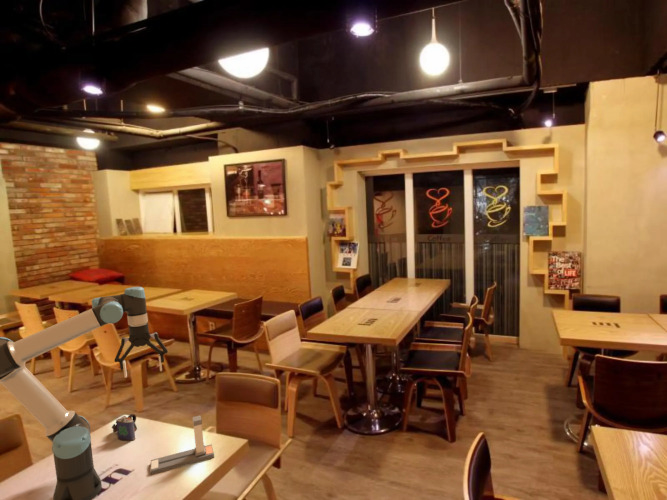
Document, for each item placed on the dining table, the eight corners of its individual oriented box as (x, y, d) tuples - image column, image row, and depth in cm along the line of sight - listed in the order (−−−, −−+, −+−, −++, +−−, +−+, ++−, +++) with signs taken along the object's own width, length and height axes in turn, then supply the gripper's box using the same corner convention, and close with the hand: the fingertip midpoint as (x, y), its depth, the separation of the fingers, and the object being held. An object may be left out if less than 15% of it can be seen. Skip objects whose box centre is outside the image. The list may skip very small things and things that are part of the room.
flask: (136, 438, 191) (134, 416, 190) (131, 442, 188) (129, 419, 187) (120, 436, 194) (118, 414, 192) (115, 439, 191) (113, 417, 190)
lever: (195, 456, 170) (192, 422, 169) (194, 449, 175) (191, 416, 174) (205, 453, 172) (202, 420, 170) (204, 446, 177) (201, 414, 176)
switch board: (150, 474, 163) (150, 470, 163) (151, 463, 170) (150, 459, 170) (214, 457, 172) (213, 453, 172) (211, 447, 179) (211, 444, 179)
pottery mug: (131, 437, 193) (119, 425, 191) (117, 444, 195) (105, 432, 193) (145, 418, 204) (134, 406, 202) (132, 425, 206) (121, 413, 204)
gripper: (170, 317, 182) (174, 364, 184) (105, 326, 173) (111, 376, 175) (170, 321, 175) (175, 370, 177) (103, 331, 166) (109, 382, 168)
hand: (143, 373), depth 176 cm, fingers open, 13 cm apart
